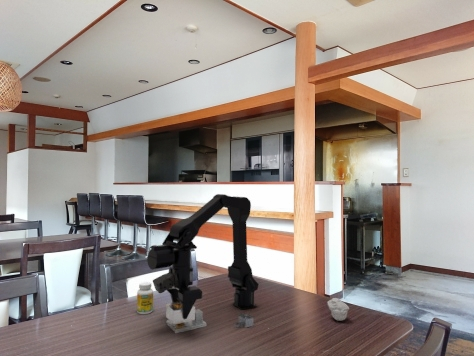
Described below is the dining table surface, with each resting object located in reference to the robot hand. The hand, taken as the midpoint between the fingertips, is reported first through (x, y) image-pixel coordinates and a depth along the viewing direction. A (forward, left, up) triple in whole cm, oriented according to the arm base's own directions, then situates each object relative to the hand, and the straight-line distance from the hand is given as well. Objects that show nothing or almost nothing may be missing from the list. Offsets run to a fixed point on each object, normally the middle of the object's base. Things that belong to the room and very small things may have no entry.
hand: (180, 314), depth 105 cm
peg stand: (-2, 0, -4) cm, 4 cm away
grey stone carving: (-47, +21, -4) cm, 52 cm away
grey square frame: (0, 0, -1) cm, 1 cm away
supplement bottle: (+6, -17, -4) cm, 18 cm away
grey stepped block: (-17, +9, -4) cm, 20 cm away
